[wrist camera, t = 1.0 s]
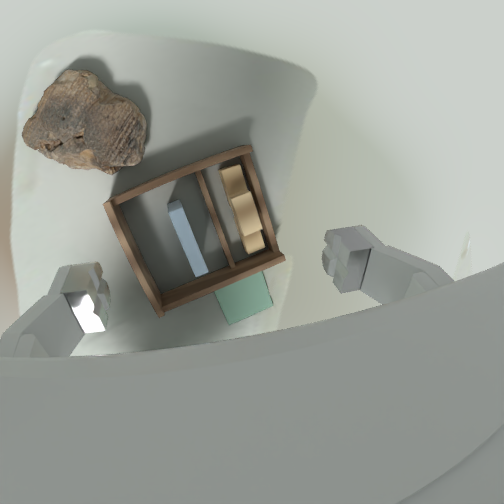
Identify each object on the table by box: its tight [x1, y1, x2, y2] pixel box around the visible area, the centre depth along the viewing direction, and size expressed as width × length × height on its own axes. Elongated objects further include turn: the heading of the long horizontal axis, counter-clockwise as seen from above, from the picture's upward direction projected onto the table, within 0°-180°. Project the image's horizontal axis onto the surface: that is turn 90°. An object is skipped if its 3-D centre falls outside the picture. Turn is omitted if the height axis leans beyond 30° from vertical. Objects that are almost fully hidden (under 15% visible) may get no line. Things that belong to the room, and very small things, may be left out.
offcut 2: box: [234, 217, 265, 254], centre depth 48 cm, size 6×3×2 cm, turn 17°
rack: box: [103, 145, 286, 318], centre depth 43 cm, size 19×22×6 cm
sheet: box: [167, 199, 209, 277], centre depth 42 cm, size 10×2×7 cm, turn 18°
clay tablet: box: [22, 69, 147, 175], centre depth 34 cm, size 14×5×20 cm
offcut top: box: [228, 190, 263, 236], centre depth 44 cm, size 6×3×2 cm, turn 19°
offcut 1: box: [218, 164, 247, 205], centre depth 44 cm, size 6×3×2 cm, turn 16°
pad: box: [214, 271, 273, 325], centre depth 52 cm, size 9×9×1 cm
